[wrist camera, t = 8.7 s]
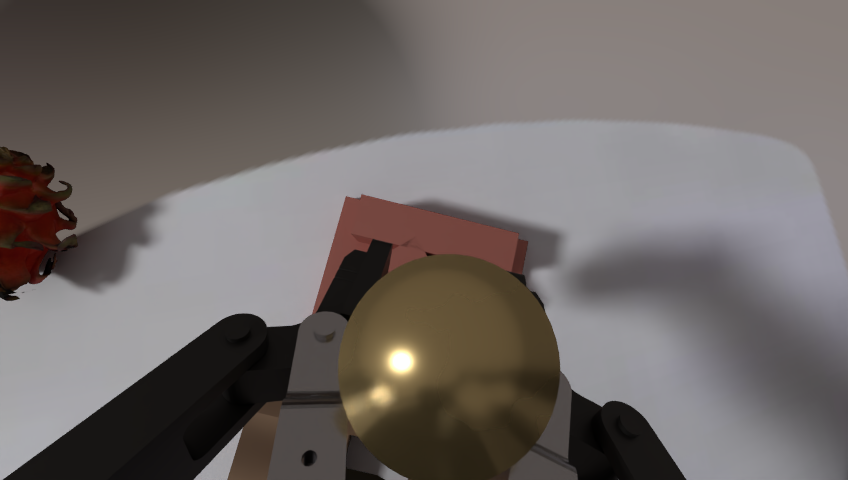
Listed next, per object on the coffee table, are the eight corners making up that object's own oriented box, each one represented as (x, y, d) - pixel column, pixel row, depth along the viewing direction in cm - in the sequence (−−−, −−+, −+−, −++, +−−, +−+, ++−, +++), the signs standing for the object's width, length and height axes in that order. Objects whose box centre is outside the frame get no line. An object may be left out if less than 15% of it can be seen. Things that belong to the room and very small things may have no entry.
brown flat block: (489, 553, 27) (499, 584, 24) (236, 493, 27) (215, 518, 24) (512, 431, 29) (524, 447, 26) (272, 374, 29) (256, 383, 26)
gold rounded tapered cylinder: (418, 262, 18) (436, 211, 7) (481, 315, 17) (603, 349, 7) (365, 326, 17) (290, 380, 6) (429, 381, 17) (466, 540, 6)
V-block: (496, 382, 29) (515, 399, 24) (308, 336, 29) (289, 344, 24) (524, 243, 31) (546, 233, 26) (348, 199, 31) (337, 181, 26)
